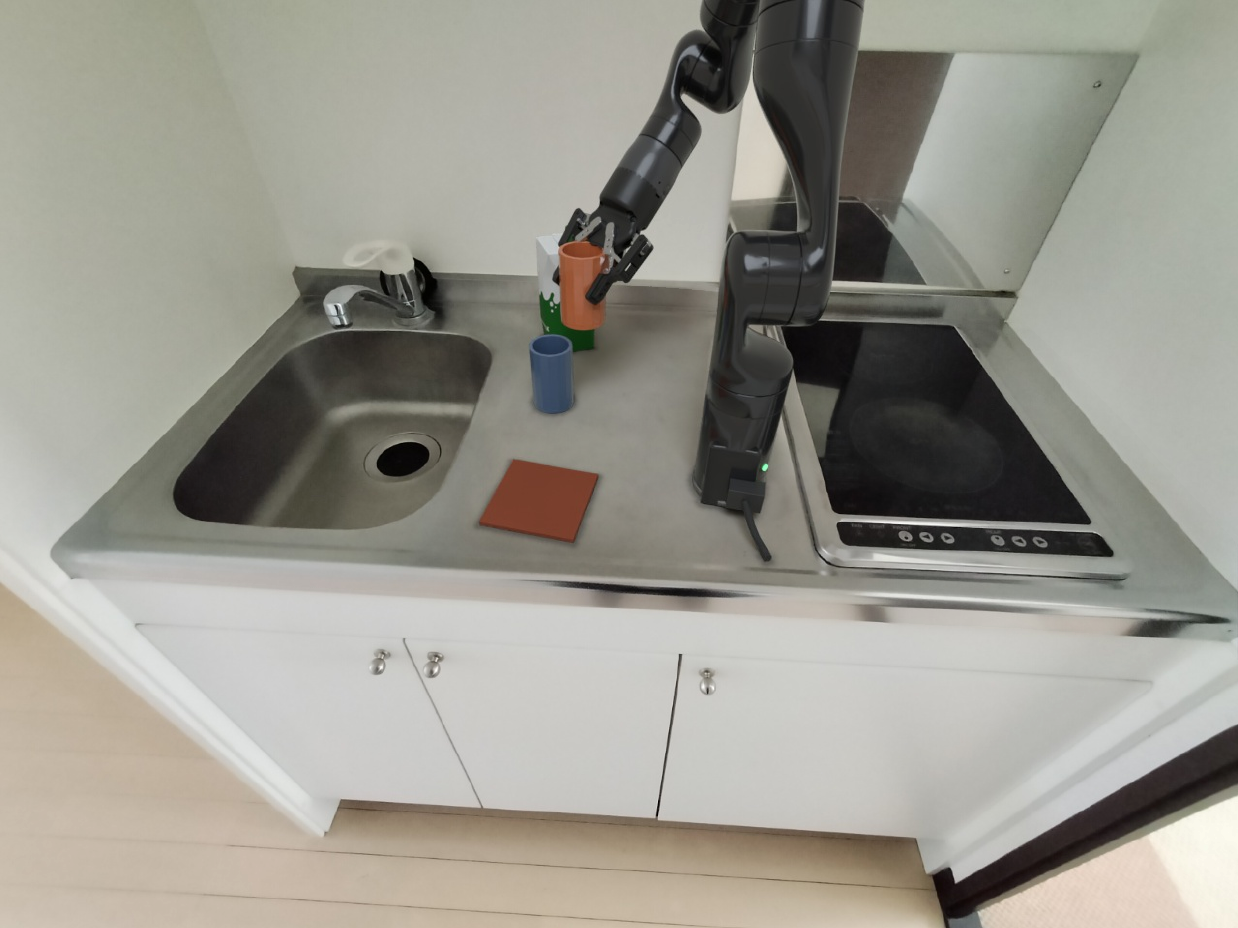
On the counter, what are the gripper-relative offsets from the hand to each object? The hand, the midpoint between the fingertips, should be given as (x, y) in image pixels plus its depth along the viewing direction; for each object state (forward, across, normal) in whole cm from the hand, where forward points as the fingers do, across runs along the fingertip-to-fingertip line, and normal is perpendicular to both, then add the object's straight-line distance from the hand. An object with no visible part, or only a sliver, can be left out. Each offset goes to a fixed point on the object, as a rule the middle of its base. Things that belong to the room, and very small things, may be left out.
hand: (573, 292), depth 81 cm
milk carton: (+5, -15, +21) cm, 26 cm away
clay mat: (+25, +13, +1) cm, 28 cm away
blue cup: (+14, -3, +11) cm, 19 cm away
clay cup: (+2, 0, +4) cm, 5 cm away
